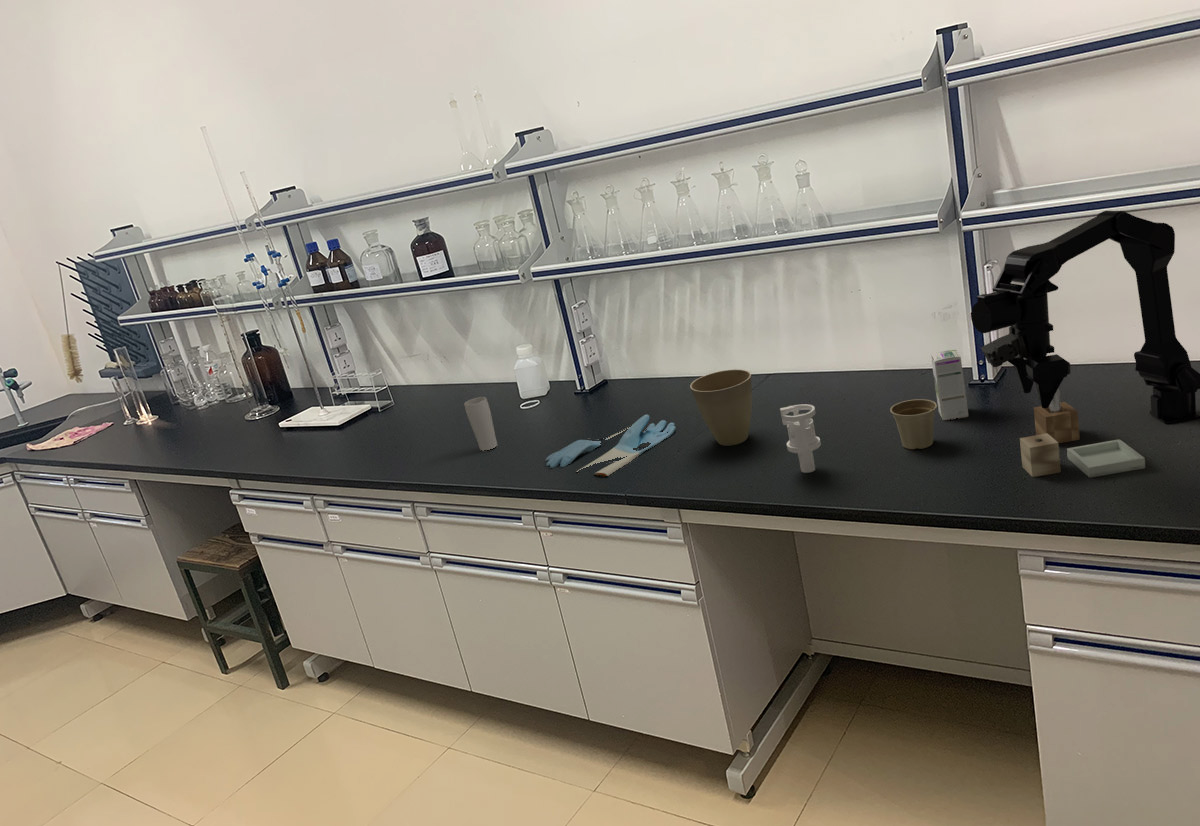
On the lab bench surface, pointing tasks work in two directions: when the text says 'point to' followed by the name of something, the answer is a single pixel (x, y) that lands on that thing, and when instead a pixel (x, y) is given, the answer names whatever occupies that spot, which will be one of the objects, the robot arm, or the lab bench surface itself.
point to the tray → (1105, 458)
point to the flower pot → (915, 422)
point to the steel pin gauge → (1055, 403)
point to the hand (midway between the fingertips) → (1035, 400)
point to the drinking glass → (481, 422)
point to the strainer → (801, 434)
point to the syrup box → (949, 385)
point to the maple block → (1040, 455)
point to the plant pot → (725, 404)
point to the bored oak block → (1058, 423)
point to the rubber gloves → (622, 449)
